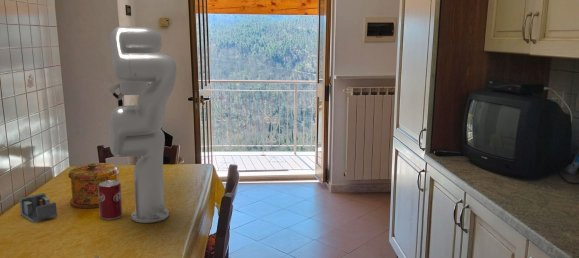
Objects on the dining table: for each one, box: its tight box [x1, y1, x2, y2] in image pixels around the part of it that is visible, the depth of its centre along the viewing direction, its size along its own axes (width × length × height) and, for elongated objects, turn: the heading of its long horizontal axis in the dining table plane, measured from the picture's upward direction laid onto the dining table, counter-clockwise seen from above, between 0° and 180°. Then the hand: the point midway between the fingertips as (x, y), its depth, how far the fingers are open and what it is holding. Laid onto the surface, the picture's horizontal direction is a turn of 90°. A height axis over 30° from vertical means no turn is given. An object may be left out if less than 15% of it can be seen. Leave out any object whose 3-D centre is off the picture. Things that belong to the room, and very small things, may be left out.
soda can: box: [97, 180, 123, 221], centre depth 157 cm, size 7×7×12 cm
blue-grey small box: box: [36, 199, 58, 219], centre depth 154 cm, size 5×6×5 cm
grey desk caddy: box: [18, 193, 58, 223], centre depth 157 cm, size 10×8×6 cm
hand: (134, 109), depth 177 cm, fingers open, 9 cm apart
